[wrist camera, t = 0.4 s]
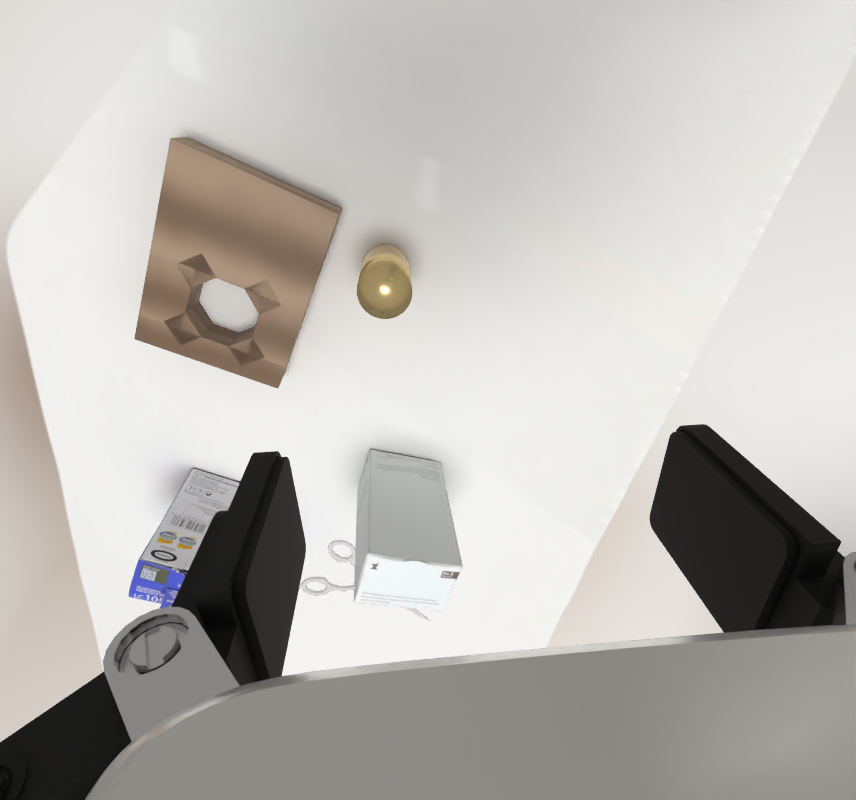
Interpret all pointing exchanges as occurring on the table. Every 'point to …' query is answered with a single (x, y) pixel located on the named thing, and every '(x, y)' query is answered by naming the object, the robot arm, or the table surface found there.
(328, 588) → the scissors
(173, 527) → the ink cartridge box
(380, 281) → the brass cylinder
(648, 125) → the table surface
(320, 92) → the table surface
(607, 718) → the robot arm
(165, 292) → the jig
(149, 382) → the table surface
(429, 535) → the skincare box
